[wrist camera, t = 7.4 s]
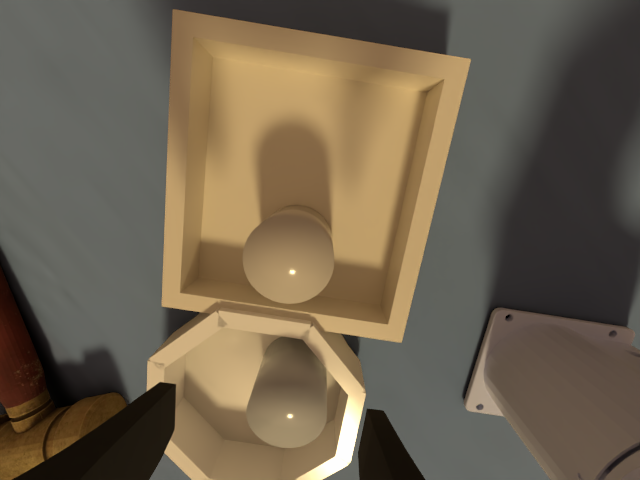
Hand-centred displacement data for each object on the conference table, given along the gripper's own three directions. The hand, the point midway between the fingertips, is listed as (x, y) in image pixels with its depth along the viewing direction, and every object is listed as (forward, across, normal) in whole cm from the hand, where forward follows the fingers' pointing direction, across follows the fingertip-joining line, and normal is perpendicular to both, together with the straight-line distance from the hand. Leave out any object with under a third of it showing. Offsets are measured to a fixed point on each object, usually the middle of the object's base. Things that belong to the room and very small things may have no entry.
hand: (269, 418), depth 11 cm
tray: (+9, 0, -8) cm, 12 cm away
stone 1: (+9, 0, -5) cm, 10 cm away
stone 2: (+9, 0, +4) cm, 10 cm away
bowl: (+9, +2, +6) cm, 11 cm away
